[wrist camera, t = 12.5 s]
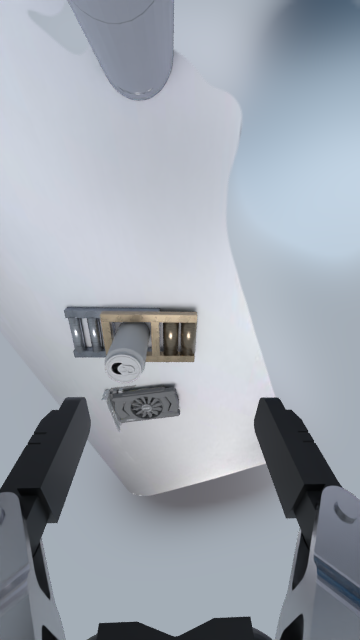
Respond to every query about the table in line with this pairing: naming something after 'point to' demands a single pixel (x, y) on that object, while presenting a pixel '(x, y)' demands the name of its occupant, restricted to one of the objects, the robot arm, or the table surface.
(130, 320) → the frame
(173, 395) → the graphics card
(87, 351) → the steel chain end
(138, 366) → the beverage can
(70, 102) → the table surface
